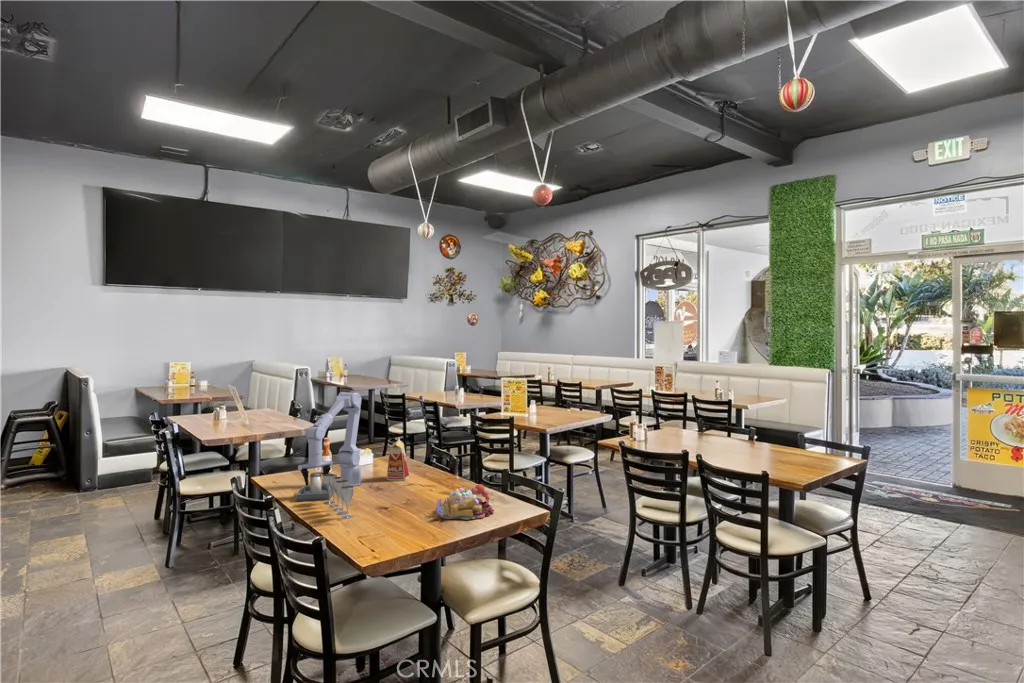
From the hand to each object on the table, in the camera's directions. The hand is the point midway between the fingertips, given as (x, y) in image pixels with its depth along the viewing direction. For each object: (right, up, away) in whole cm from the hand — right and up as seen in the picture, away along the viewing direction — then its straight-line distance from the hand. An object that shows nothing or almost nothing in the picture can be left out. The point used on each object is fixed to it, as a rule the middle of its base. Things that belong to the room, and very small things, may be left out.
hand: (315, 483), depth 242 cm
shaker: (0, -4, 0) cm, 4 cm away
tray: (0, -6, 0) cm, 6 cm away
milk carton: (+31, -5, +29) cm, 42 cm away
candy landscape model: (+68, -6, -21) cm, 72 cm away
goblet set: (+16, -6, -19) cm, 25 cm away
